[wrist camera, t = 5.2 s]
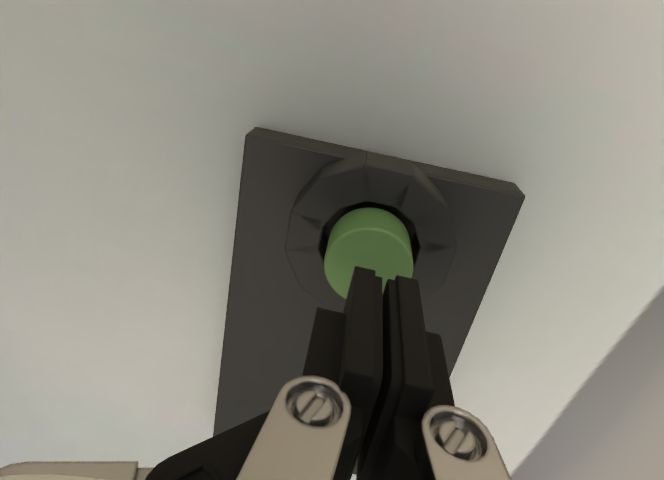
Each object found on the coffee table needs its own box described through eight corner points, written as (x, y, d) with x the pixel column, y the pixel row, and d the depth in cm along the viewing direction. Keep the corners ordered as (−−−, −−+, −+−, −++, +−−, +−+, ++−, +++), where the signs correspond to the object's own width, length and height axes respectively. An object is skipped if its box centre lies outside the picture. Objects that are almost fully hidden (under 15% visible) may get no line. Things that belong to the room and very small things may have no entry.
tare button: (337, 198, 15) (333, 219, 13) (419, 216, 15) (424, 238, 13) (322, 269, 16) (316, 295, 15) (398, 285, 16) (400, 314, 15)
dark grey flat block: (256, 116, 17) (232, 135, 14) (519, 174, 17) (546, 203, 14) (220, 422, 24) (200, 472, 21) (403, 461, 24) (406, 516, 21)
